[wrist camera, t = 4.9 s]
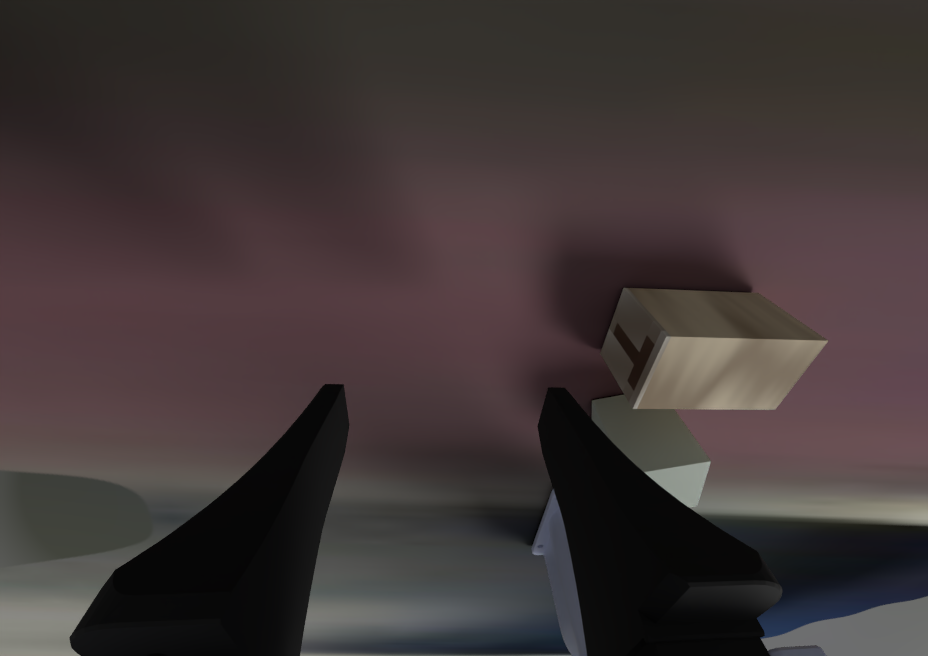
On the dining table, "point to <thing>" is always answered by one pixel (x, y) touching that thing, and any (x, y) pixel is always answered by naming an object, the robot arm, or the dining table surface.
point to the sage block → (655, 445)
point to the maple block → (706, 349)
